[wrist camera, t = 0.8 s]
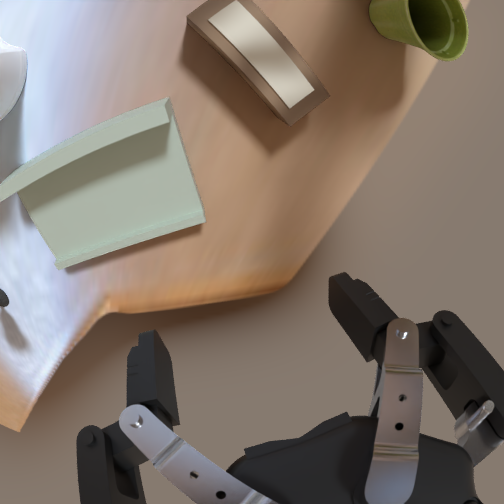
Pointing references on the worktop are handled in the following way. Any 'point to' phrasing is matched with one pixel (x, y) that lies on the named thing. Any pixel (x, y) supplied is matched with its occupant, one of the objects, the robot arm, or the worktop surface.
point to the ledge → (110, 186)
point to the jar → (11, 75)
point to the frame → (260, 56)
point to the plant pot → (423, 25)
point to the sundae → (3, 299)
